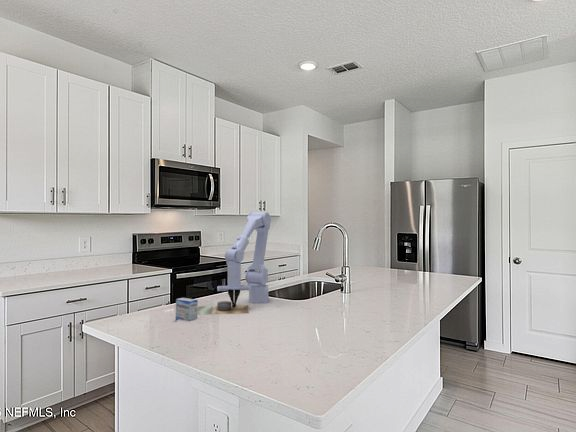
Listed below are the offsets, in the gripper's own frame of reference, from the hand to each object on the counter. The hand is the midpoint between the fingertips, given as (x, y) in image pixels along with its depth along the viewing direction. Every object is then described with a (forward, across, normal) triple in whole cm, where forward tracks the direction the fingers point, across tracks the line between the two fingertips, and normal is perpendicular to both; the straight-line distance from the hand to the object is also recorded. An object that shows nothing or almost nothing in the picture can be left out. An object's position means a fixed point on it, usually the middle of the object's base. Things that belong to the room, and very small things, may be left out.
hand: (234, 307), depth 166 cm
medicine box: (+2, -19, -12) cm, 22 cm away
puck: (+1, -4, 0) cm, 4 cm away
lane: (+2, -8, 0) cm, 8 cm away
